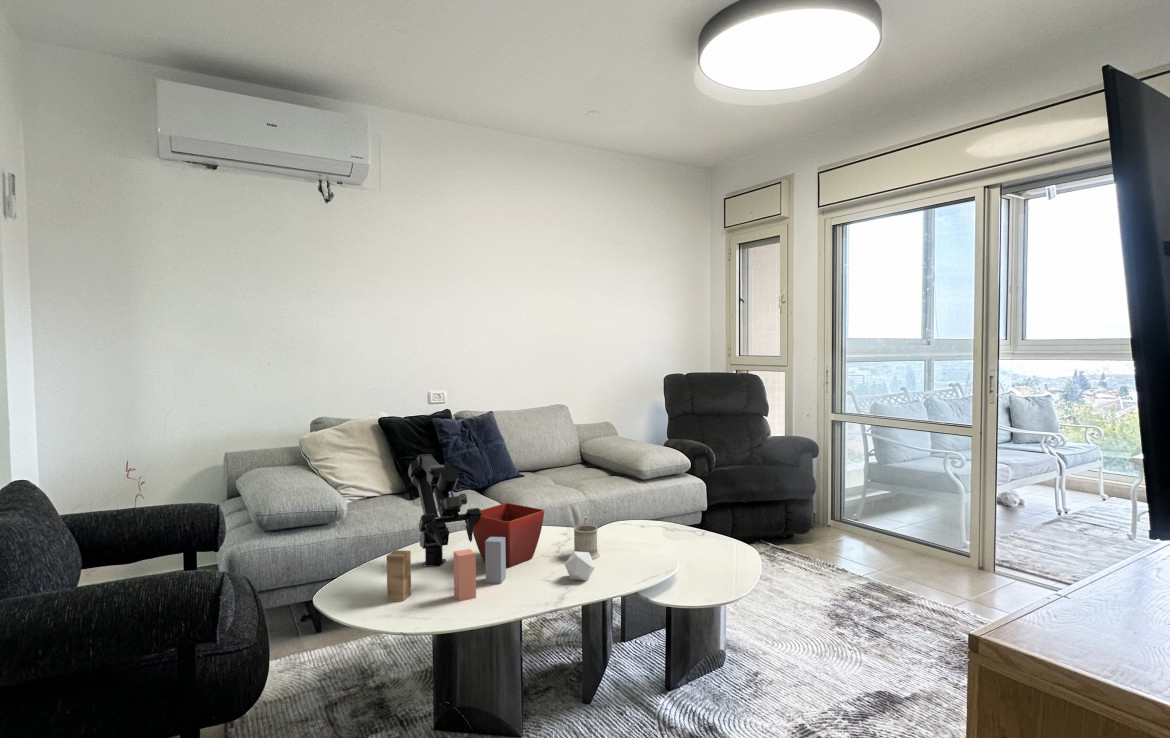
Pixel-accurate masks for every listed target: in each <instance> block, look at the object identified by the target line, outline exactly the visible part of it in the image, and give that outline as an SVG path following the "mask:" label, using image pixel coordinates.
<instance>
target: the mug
mask: <svg viewBox="0 0 1170 738" xmlns="http://www.w3.org/2000/svg"><path fill="white" fill-rule="evenodd" d="M582 518H584V524H582V525H576V526H574V527H573V532H574V533H573V536H574V537H573V539H574V544H573V545H574V546H573V548H574V550H573V551H577V552H589V553H590V556H591V558H592V561H593V560H597V559H598V558H600V557H601V554H600V553H599V550H598V527H597V526H595V525H588V518H589V516H583V517H582Z"/></svg>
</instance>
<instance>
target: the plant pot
mask: <svg viewBox="0 0 1170 738" xmlns="http://www.w3.org/2000/svg"><path fill="white" fill-rule="evenodd" d="M480 510H481V513H482V515H481V517H480V520H479V522H478V523H477V524H475V526H474V527H473V534H472V536H473V539H474V541H475V543H476V546H477V549H478V552H479V554H480V557H481V559H482V561H484V562H485V541H486V540H487V539H488V538H489V537H505V548H506V568H511V567H513V566H516V565H518V564H521V563H523V562H526V561H528V560H530V559H533V558H534V555H535V552H536V550H537V546H538V543H539V541H540V536H541V532H542V527H543V523H544V516H545V509H542V508H536V507H531V506H526V505H521V504H515V503H510V502H507V503H505V502H504V503H502V504H498V505H494V506H490V507H487V508H483V509H480Z"/></svg>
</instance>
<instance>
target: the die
mask: <svg viewBox="0 0 1170 738" xmlns="http://www.w3.org/2000/svg"><path fill="white" fill-rule="evenodd" d="M564 565H565V568H566V570H567V571H566V572H567V574H568V577H569V578H570V580H574V581H584V582H587V581H588V580H589V578H590V577H591V575H592V573H593V572H594V570H595V568H596V566H595V564H594V561H593V560H592V558H591V556H590V553H589V552H577V551H574V550H573V551H572V552H571V554H570V556H569V557H568V558H567V560H566V562H565V563H564Z"/></svg>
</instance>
